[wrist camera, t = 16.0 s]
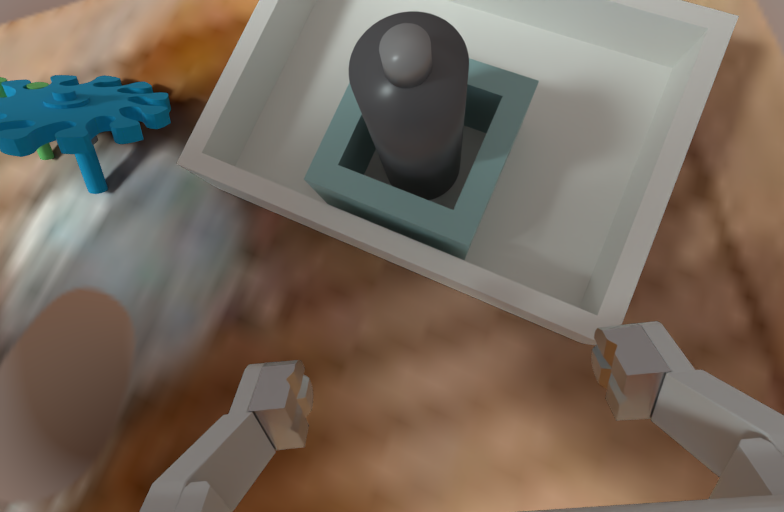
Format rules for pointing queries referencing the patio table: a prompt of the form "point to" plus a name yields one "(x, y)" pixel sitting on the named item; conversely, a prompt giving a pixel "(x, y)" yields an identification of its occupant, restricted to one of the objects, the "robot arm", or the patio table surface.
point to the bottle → (413, 98)
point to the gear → (77, 118)
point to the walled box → (480, 143)
